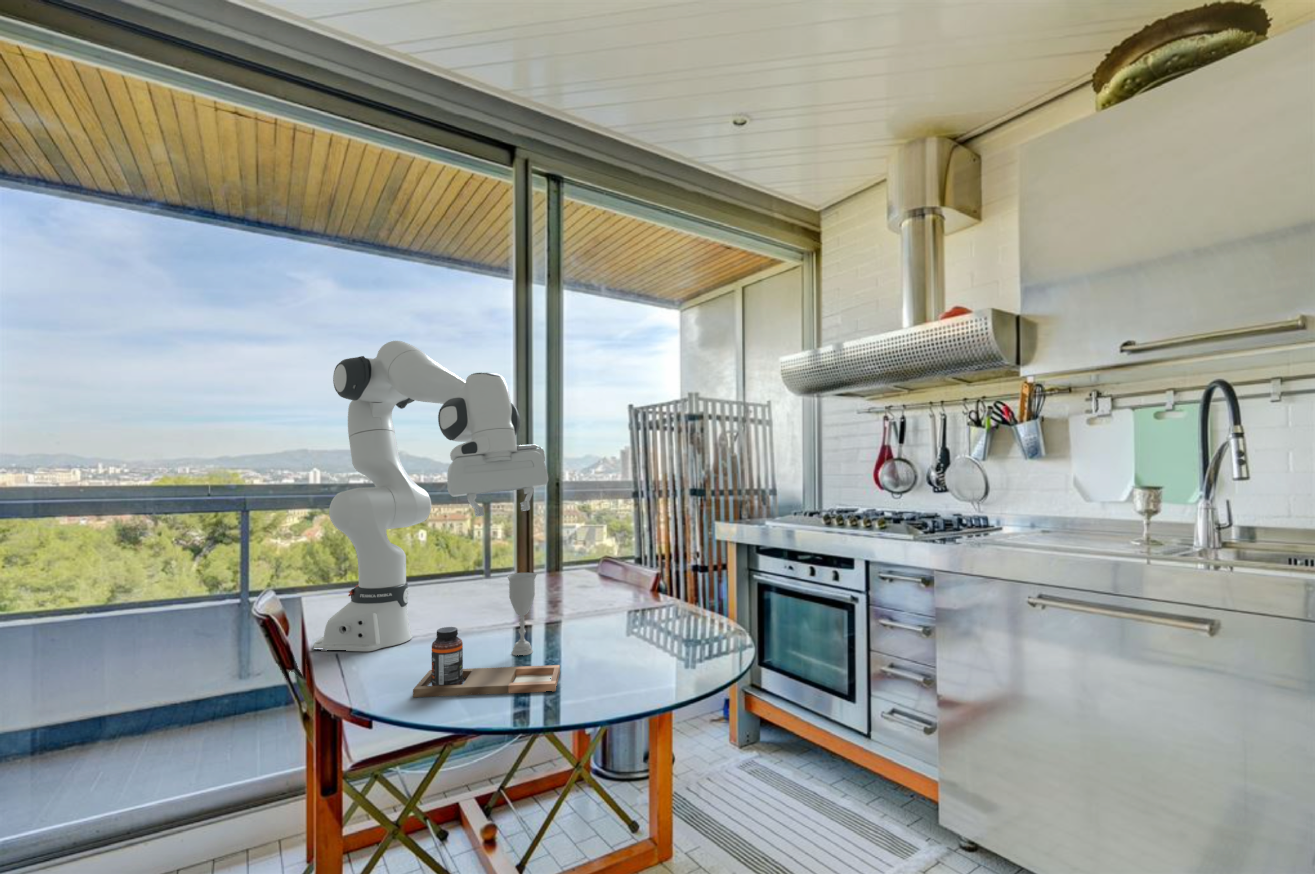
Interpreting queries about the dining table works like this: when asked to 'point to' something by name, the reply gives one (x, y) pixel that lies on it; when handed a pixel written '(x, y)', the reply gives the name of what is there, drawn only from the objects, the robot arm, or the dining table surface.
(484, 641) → the dining table surface
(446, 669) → the supplement bottle
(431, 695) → the wooden compartment tray
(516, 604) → the chalice
